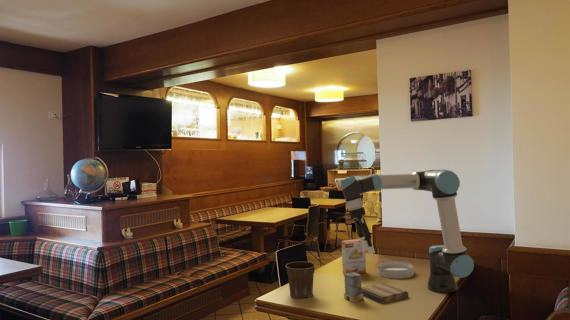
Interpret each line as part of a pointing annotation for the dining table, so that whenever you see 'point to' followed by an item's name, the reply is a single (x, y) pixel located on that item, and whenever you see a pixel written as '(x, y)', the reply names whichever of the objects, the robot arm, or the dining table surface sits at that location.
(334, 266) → the dining table surface
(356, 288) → the grey upright cylinder
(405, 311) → the dining table surface
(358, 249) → the cracker box
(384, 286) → the block
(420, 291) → the dining table surface
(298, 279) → the plant pot
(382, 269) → the dish
